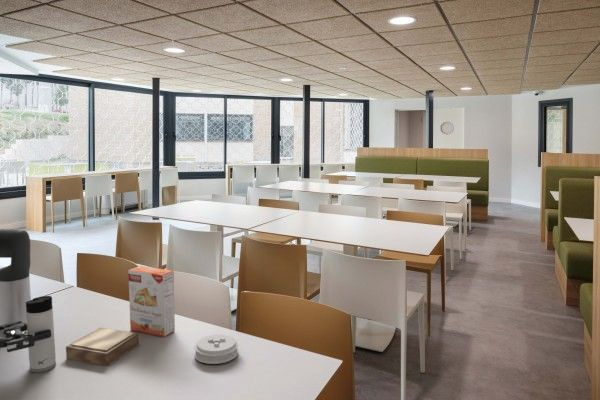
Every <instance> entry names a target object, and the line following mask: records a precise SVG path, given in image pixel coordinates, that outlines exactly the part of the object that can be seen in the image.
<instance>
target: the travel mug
mask: <svg viewBox="0 0 600 400" xmlns="http://www.w3.org/2000/svg"><path fill="white" fill-rule="evenodd" d="M53 308H54V307H53V297H52V295H44V296H42V295H41V296H38V297H34V298H32V299H31V300H30V301H27V302H26V313H27V314H26V318H27V331H26V333H35V332H39V331H43V330H47V329H50V330H51V337H50V338H47V339H43V340H39V341H36V342H35V343H34V344H35V345H34V346H32V347H28V359H29V360H28V362H29V370H30V372H31V373H38V374H39V373H45V372H48V371H50V370H52V369H54V368H55V367H56V365H57V362H56V361H57V360H56V342H55V340H56V339H55V325H54V323H55V322H54V310H53Z"/></svg>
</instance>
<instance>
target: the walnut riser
mask: <svg viewBox="0 0 600 400" xmlns="http://www.w3.org/2000/svg"><path fill="white" fill-rule="evenodd" d="M139 338H140V337H139V333H138V332H131V331H124V330H120V329H119V330H118V329H112V328H107V327H106V328H105V327H99V328H97V329H95V330H93V331H92V332H90V333H88V334H86V335H85V336H83V337H81V338H79V339H77V340H76V341H74V342H72V343H70V344H68V345H66V346H65V352H66V353H65V354H66V356H65V358H66V360H68V359H69V360H73V361H79V362H84V363H89V364H96V365H100V366H105V367H108V366H109V365H111V364H112V363H114V362H115V361H117V360H118V359H120V358H121V357H123V356H125V355H126V354H127V353H128V352H130V351H132V350H133V349H134V348H136V347H138V346H139Z"/></svg>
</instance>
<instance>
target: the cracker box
mask: <svg viewBox="0 0 600 400" xmlns="http://www.w3.org/2000/svg"><path fill="white" fill-rule="evenodd" d="M127 271H128V294H129V295H128V296H129V321H130V322H129V326H130V330H131V331H136V332H139V333H144V334H148V335H153V336H157V337H161V338H165V337H166V336H168V335H170V334H172V333H173V332H175V330H176V328H175V327H176V324H175V322H176V321H175V320H176V318H175V284H174V283H175V281H174V280H175V278H174V276H175V275H174V271H173V270H169V269H162V268H156V267H149V266H144V265H138V266H136V267H132V268H130V269H127Z"/></svg>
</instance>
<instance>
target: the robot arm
mask: <svg viewBox="0 0 600 400" xmlns="http://www.w3.org/2000/svg"><path fill="white" fill-rule="evenodd" d="M30 237H31V236H30V234H29V233H28V231H27V230H25V229H18V228H17V229H16V228H15V229H14V228H13V229H10V228H9V229H8V228H5V229H4V228H1V229H0V258H4V259H6V258H7V259H10V264H9V265H7V266H4V267H1V268H0V349H3V348H4V349H5V348H6V352H7V353H11V352H16V351H19V350H24V349H27V348H28V347H32V346H34V345H35V344H34V343H35V342H36V341H39V340H43V339H47V338H50V337H51V330H50V329H47V330H43V331H39V332H35V333H27V318H26V314H27V313H26V302H27V301H30V300H32V297H31V283H30V282H31V281H30V269H31V238H30Z"/></svg>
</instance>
